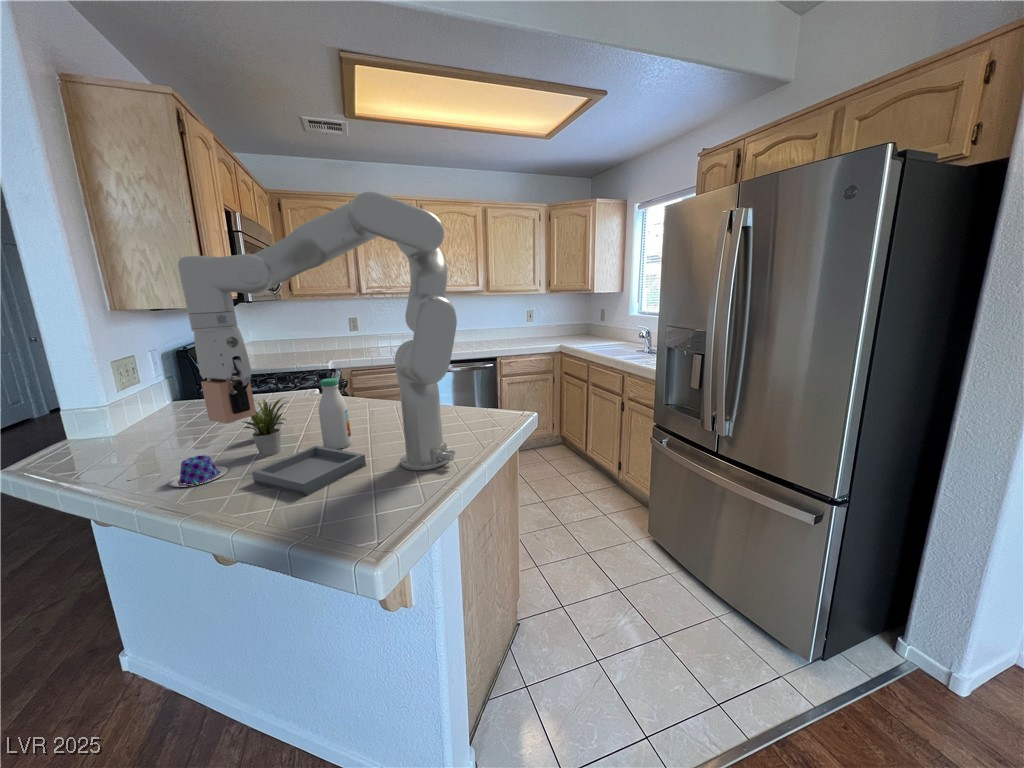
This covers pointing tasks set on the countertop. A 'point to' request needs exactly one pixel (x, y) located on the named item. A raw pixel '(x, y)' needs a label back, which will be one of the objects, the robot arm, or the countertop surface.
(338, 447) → the milk bottle
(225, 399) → the open square box
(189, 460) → the purple dotted hat
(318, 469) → the tray
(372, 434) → the countertop surface
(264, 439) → the house plant
